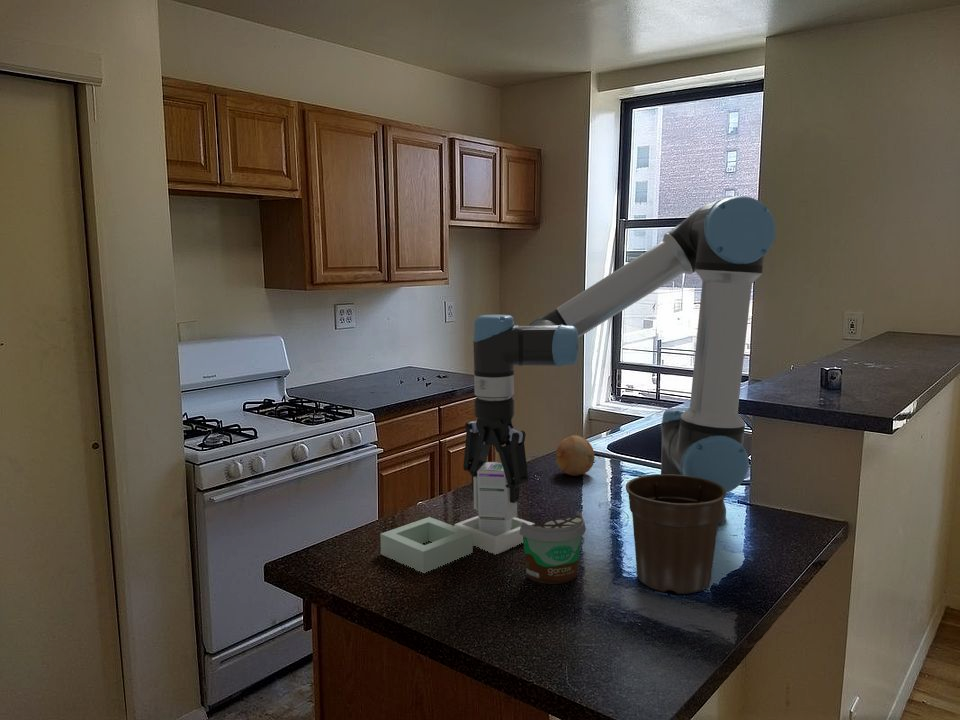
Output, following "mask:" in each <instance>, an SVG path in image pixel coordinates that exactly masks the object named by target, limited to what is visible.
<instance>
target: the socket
mask: <svg viewBox="0 0 960 720" xmlns="http://www.w3.org/2000/svg"><path fill="white" fill-rule="evenodd" d="M379 535H380V536H379V537H380V555H382V556H384V557H386V558H388V559H390V560H392V559H393V561H394V560H395V562H397V563H399V564H401V565H403V564H404V565H403V566H406V565H407V566H406V567H408V566H409V567H408V568H410V567H411V569H412V568H414V569H415V570H414V569H413V570H414V571H416V572H419V571H420V572H419V573H421V572H422V574H423V573H424V574H426V572H427V573H429V572H432V571H433V569H434V570H437V569H439V568H441V567H443V565H444V566H446V565H448V564H451V563H453V562H455V561H454V560H456V561H458V560H460V559H459V558H461V557H463V558H465V557H467V556H466V555H468V556H470V555H472V554H471V553H474V552H473V550H474V546H473V533H472V532H469V531H466V530H463V529H461V528H458V527H455V526H454V525H452V524H450V523H447V522H444V521H442V520H439V519H436V518H435V517H434V518H433V517H432V516H427V517H426V518H422V519H419V520H416V521H413V522H410V523H408V524H405V525H402V526H399V527H396V528H393V529H389V530H388V531H384V532H381V533H380V534H379ZM428 541H430V542H432V543H430V542H428ZM426 542H427V543H426ZM423 543H425V544H423ZM469 554H470V555H469ZM464 556H465V557H464ZM457 559H458V560H457ZM461 559H462V558H461ZM452 561H453V562H452ZM450 562H451V563H450ZM447 563H448V564H447ZM445 564H446V565H445ZM440 566H441V567H440ZM438 567H439V568H438ZM431 570H432V571H431ZM428 571H429V572H428Z"/></svg>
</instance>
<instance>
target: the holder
mask: <svg viewBox="0 0 960 720" xmlns="http://www.w3.org/2000/svg"><path fill="white" fill-rule="evenodd" d="M522 522H524V523H526V524H528V525H536V524H535V523H534V522H531V521H528V520H526V519H522V518H519V517H514V518H512V530H510V531H508V532H505V533H503V534H500V535H498V536H493V535H490V534H488V533H485V532H482V531H479V523H478V515H477V516H473V517H470V518H468V519H465V520H462V521H459V522H457V523H454V525H453V526H455V527H458V528H461V529H463V530H466V531H469V532H472V533H473V547H474V546H476V547H475V548H477V547H479V548H480V549H479V548H478V549H479V550H482V549H483V550H482V551H484V550H485V552H487V551H488V553H490V554H492V553H493V555H495V556H497V555H499V554H500V553H503V552H506V551H508V550H510V548H511V549H512V547H513V548H515V547H518V546H520V545H522V544H524V542H523V536H522V535H520V534H519V533H520V527H521V526H522ZM521 543H522V544H521ZM519 544H520V545H519ZM517 545H518V546H517ZM496 554H497V555H496Z"/></svg>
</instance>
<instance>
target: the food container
mask: <svg viewBox="0 0 960 720" xmlns="http://www.w3.org/2000/svg"><path fill="white" fill-rule="evenodd" d="M575 513H576V514H575V516H571V517H565V518H551V519H548V520H545V521H542V522H539V523H536V524H535V525H528V524H526V523H524V522H522V526H521V527H520V533H519V534H520V535H522V536H523V542H524V543H523V551H524V560H525V561H524V562H525V563H524V564H525V574H526V577H527V578H528V579H529V580H531V581H534V582H537V583H542V584H549V585H551V584H552V585H554V584H557V585H558V584H563V583H568V582H570V581H572V580H574V579H576V578H577V576H578V569H579V559H580V553H581V543H582V536H583V535H584V534H585V533H586V532H587V531H586V530H587V529H586V521H585V519H584V517H583V516H584V515H583V514H582V513H581V512H580V511H578V510H577V511H576V512H575Z"/></svg>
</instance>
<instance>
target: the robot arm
mask: <svg viewBox="0 0 960 720" xmlns="http://www.w3.org/2000/svg"><path fill="white" fill-rule="evenodd" d="M775 236H776V223H775V219H774V216H773V215H772V213H771V211H770V210H769V209H768V207H767V206H766V205H765V204H764V203H763V202H762V201H760V200H758V199H756V198H753V197H751V196H746V195H745V196H744V195H729V196H726V197H723V198H720V199H717V200H713V201H710V202H707V203H705V204H704V205H702V206H701V207H699V208H698V209H696V210H695V211H693V213H691V214H690V215H689V216H687V217H686V218H685V219H684V220H682V221H681V222H680V223H679V224H677V225H676V226H674V227H673V228H672V229H670V230H668V231H667V232H665V233H664V235H663V237H662V241H660V242H659V243H658V244H655V245H654V246H652V247H651V248H650V249H648V250H646V251H645V252H643V253H642V254H640V255H638V256H637V257H635V258H634V259H632V260H630V261H629V262H627V263H626V264H624V265H623V266H621V267H619V268H617V270H614V271H613V272H612V273H610V274H608V275H606V276H605V277H603V278H602V279H601V280H599V281H597V282H595V283H594V284H593V285H591V286H589V287H588V288H587V289H585V290H583V291H582V292H580V293H579V294H576V295H575V296H573V297H572V298H570V299H569V300H567V301H566V302H564V303H562V304H561V305H559V306H557V307H556V308H555V309H553V310H551V311H550V312H548V313H547V314H545V315H544V316H541V317H538V318H536V319H534V320H533V321H531V322H530V323H529V325H518V324H515V321H514V317H513V316H512V315H511V314H510V315H509V314H482V315H479V316H477V317H476V318H475V320H474V322H473V341H472V343H473V344H472V345H473V372H474V373H473V375H474V377H473V381H474V384H473V386H474V388H473V389H474V395H475V396H476V397H475V398H474V401H473V402H474V403H473V404H474V417H475V418H477V420H472V421H470V422H465V423H464V426H465V427H464V428H465V434H466V436H465V446H464V447H465V448H464V454H463V455H464V457H463V468H462V469H463V470H464V471H465V472H469V475H470V476H471V491H472V492H473V509H474V510H476V511H478V480H477V471H478V470H479V468H480V467H481V466H482V465H483V463H484V462H487V459H488V456H489V453H490V449H491V447H492V446H493V447H494V448H495V451H496V452H497V453H498V455H499V459H500V462H502V466H503V469H504V473H505V476H506V480H507V483H508V484H507V485H505V486H504V498H505V519H506V520H509V519H512V518H514V517H516V518H518V502H520V486H521V485H523V484H527V483H528V482H529V473H528V467H527V457H526V455H527V454H526V449H525V440H526V432H525V431H524V430H520V431H519V430H517V429H515V428H514V426H513V422H512V421H513V418H514V416H515V399H514V398H513V397H512V396H513V395H515V376H514V374H515V372H514V371H515V370H514V369H515V367H516V366H518V367H519V366H520V367H523V366H554V367H555V366H556V367H558V368H559V367H562V366H573V365H575V364H576V363H577V362H578V359H579V338H580V337H582V336H584V335H585V334H587V333H588V332H590V331H592V330H593V329H595V328H596V327H598V326H599V325H602V324H603V323H605V322H606V321H608V320H610V319H611V318H612V317H614V316H616V315H618V314H619V313H621V312H622V311H624V310H626V309H627V308H628V307H631V306H632V305H633V304H635V303H637V302H639V301H640V300H642V299H643V298H645V297H647V296H648V295H650V294H652V293H653V292H655V291H656V290H658V289H660V288H661V287H663V286H665V285H667V284H668V283H669V282H671V281H672V280H674V279H676V278H677V277H679V276H681V275H682V274H686V275H692V274H694V273H695V272H696V273H695V274H697V275H698V276H699V278H700V279H701V281H702V284H701V293H700V302H699V311H698V312H699V313H698V321H697V322H698V323H697V332H696V333H697V334H696V343H695V351H694V352H695V353H694V361H693V362H694V364H693V372H692V382H691V391H690V401H689V402H690V403H689V407H673V408H668V409H665V410H664V411H663V414H662V421H661V423H660V425H661V451H660V452H661V454H660V455H661V457H660V458H661V459H660V474H674V475H686V476H693V477H699V478H703V479H707V480H710V481H712V482H715V483H717V484H719V485H721V486H722V487H724V488H725V490H726V494H728V493H730V492H732V491H733V490H735V489H736V488H737V487H740V485H741V484H742V483H743V482H744V480H745V479H746V477H747V475H748V472H749V468H750V462H749V456H748V453H747V451H746V448H745V447H744V439H745V438H744V437H745V427H746V422H745V420H744V419H743V417H741V415H740V414H739V405H740V402H739V401H740V395H741V387H742V386H741V385H742V375H743V367H744V358H745V350H746V349H745V348H746V341H747V330H748V322H749V312H750V305H751V294H752V285H753V283H754V282H755V281H756V280H758V278H760V277H761V276H762V275H763V267H764V258H765V255H766V254H767V253H768V251H769V250H770V249H771V247H772V245H773V244H774V241H775ZM726 521H727V507H726V504H725V499H723V503H722V510H721V516H720V518H719V519H718V526H717V527H719V526H721V525H723V524H724V523H725V522H726Z"/></svg>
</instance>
